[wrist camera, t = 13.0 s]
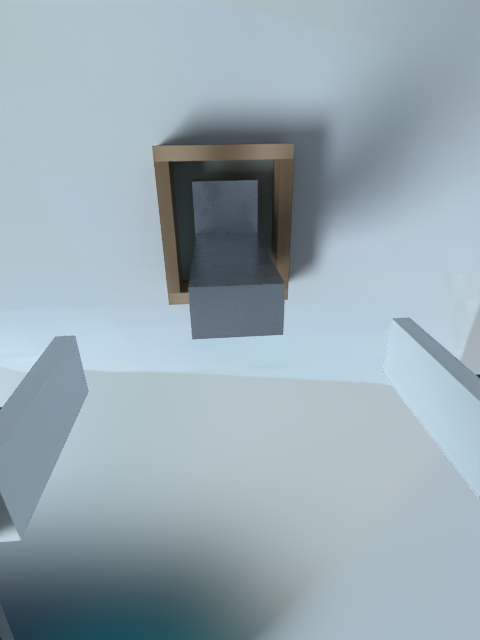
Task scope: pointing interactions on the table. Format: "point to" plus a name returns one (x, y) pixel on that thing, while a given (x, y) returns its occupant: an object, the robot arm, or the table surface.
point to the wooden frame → (220, 163)
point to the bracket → (232, 264)
